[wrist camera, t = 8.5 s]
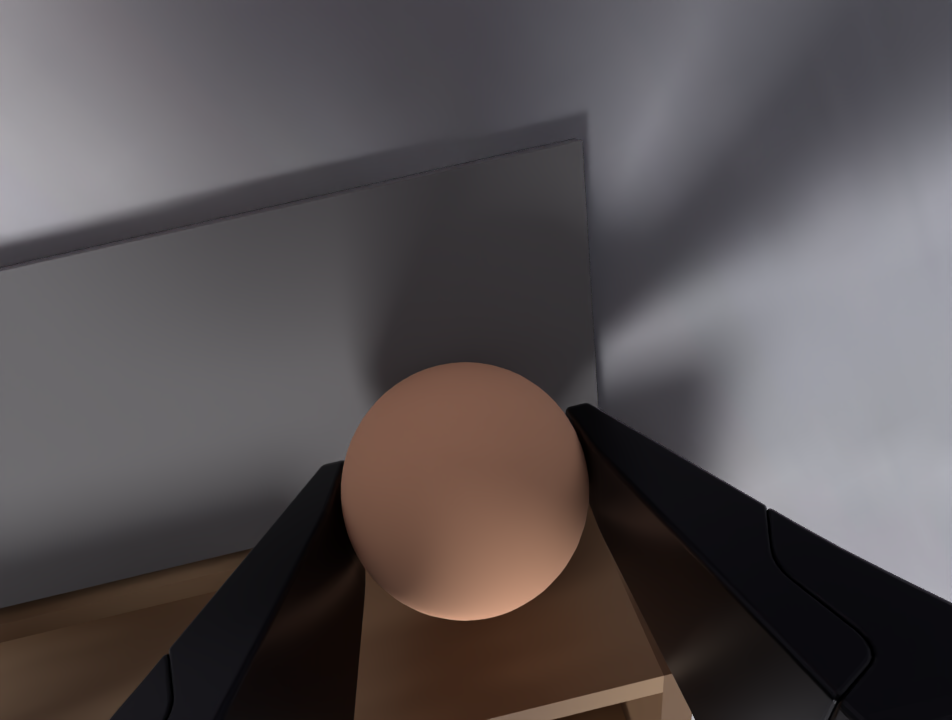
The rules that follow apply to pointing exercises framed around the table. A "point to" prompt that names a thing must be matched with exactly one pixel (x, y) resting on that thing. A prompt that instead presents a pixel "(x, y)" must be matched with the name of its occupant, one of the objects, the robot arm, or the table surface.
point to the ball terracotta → (465, 491)
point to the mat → (266, 356)
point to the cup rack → (362, 649)
